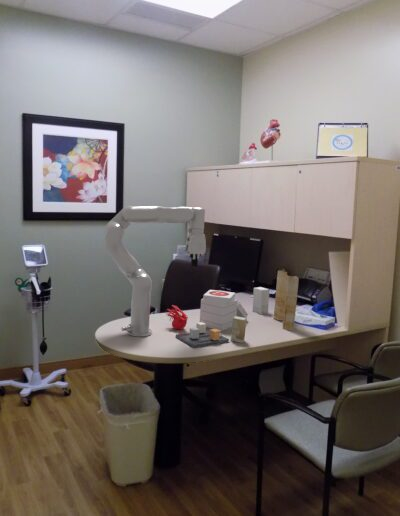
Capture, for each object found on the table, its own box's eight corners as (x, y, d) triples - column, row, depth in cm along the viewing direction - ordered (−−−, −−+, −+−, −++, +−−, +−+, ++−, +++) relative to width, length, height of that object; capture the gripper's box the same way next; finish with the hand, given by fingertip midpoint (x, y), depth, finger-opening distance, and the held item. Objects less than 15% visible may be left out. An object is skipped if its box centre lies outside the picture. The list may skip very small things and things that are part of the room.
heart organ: (177, 333, 248) (179, 311, 246) (163, 327, 256) (164, 305, 255) (191, 330, 254) (193, 308, 253) (177, 324, 263) (179, 303, 261)
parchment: (295, 330, 266) (300, 278, 261) (284, 330, 265) (289, 277, 261) (282, 318, 289) (287, 270, 284) (272, 318, 288) (277, 269, 283)
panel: (194, 348, 228) (194, 343, 227) (175, 337, 241) (175, 332, 241) (228, 342, 240) (229, 337, 239) (209, 332, 253) (209, 327, 253)
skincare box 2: (268, 313, 298) (270, 289, 295) (260, 314, 294) (262, 290, 292) (259, 310, 305) (261, 286, 302) (251, 311, 301) (253, 287, 299)
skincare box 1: (230, 341, 241) (232, 317, 239) (232, 338, 245) (234, 315, 244) (242, 343, 239) (244, 319, 237) (244, 340, 243) (246, 317, 241)
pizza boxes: (250, 321, 278) (252, 291, 276) (222, 332, 254) (224, 299, 251) (222, 314, 289) (224, 285, 286) (193, 324, 265) (195, 293, 262)
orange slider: (213, 340, 235) (214, 331, 234) (209, 338, 238) (210, 329, 237) (219, 339, 237) (220, 330, 236) (215, 337, 240) (215, 328, 239)
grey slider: (193, 338, 235) (193, 330, 234) (189, 336, 238) (189, 328, 237) (198, 338, 237) (199, 329, 236) (195, 335, 240) (195, 327, 239)
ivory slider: (200, 333, 244) (200, 324, 244) (196, 331, 247) (196, 322, 247) (205, 332, 246) (206, 324, 246) (201, 330, 249) (202, 322, 249)
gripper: (188, 232, 237) (186, 268, 240) (212, 232, 246) (210, 267, 248) (180, 230, 243) (178, 265, 246) (204, 230, 252) (201, 264, 255)
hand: (194, 266), depth 247 cm, fingers closed
